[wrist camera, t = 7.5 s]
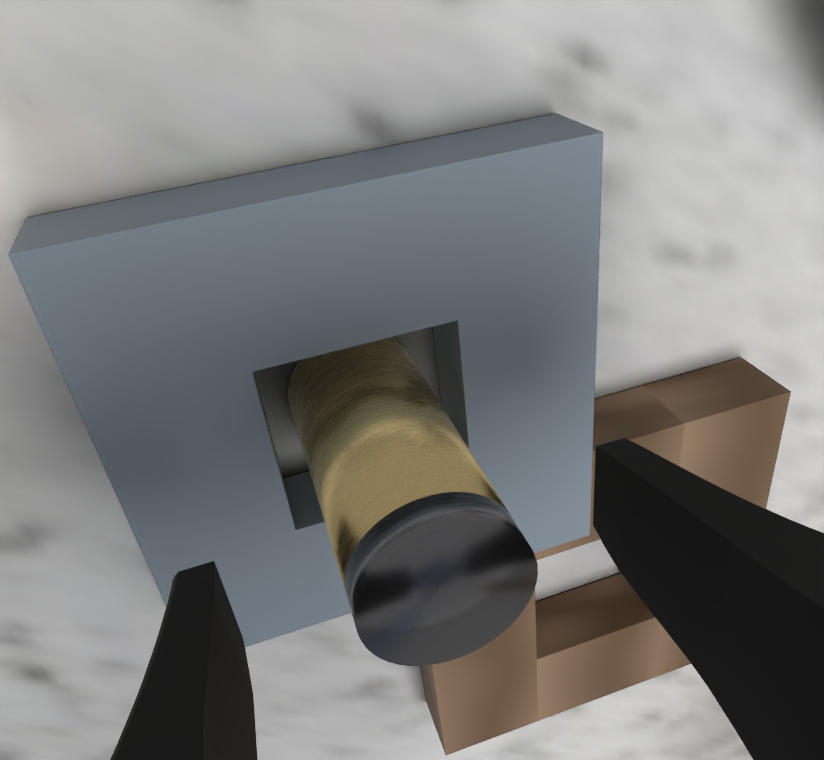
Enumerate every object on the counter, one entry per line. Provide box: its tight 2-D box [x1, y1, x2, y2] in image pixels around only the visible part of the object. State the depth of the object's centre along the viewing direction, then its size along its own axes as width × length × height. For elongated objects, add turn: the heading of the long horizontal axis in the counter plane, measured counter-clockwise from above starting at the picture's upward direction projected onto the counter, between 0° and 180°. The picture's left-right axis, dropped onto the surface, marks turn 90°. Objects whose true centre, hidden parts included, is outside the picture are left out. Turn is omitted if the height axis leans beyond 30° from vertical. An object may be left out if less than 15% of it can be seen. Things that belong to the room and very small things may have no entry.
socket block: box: [8, 113, 603, 647], centre depth 17 cm, size 11×11×2 cm
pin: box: [288, 337, 538, 666], centre depth 15 cm, size 3×3×7 cm
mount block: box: [421, 358, 791, 755], centre depth 22 cm, size 11×11×2 cm
